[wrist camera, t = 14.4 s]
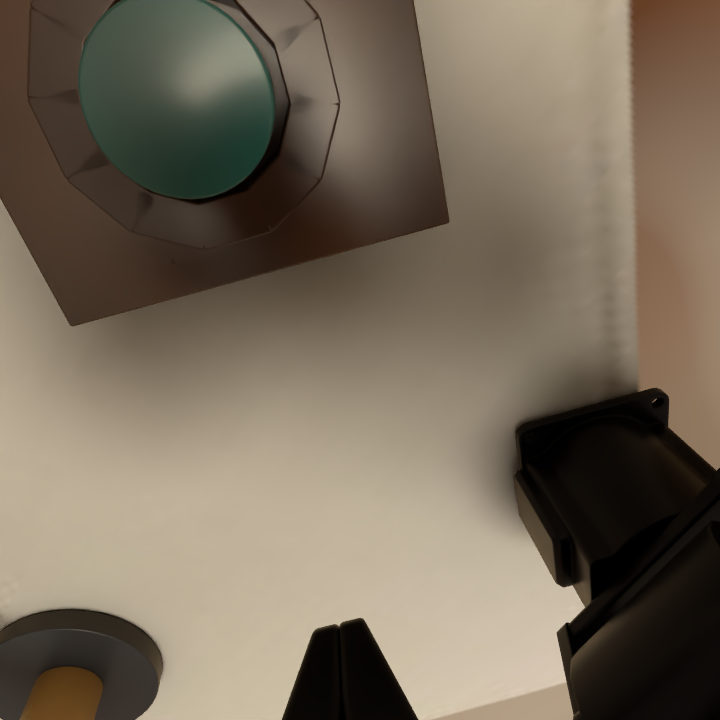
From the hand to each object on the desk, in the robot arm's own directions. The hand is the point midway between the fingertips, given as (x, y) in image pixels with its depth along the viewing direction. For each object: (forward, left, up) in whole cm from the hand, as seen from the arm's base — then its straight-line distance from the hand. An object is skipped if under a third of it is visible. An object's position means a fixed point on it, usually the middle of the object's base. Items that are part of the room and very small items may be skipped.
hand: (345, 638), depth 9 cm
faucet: (+16, +14, -13) cm, 24 cm away
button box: (+1, -8, -13) cm, 15 cm away
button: (+1, -8, -9) cm, 12 cm away
